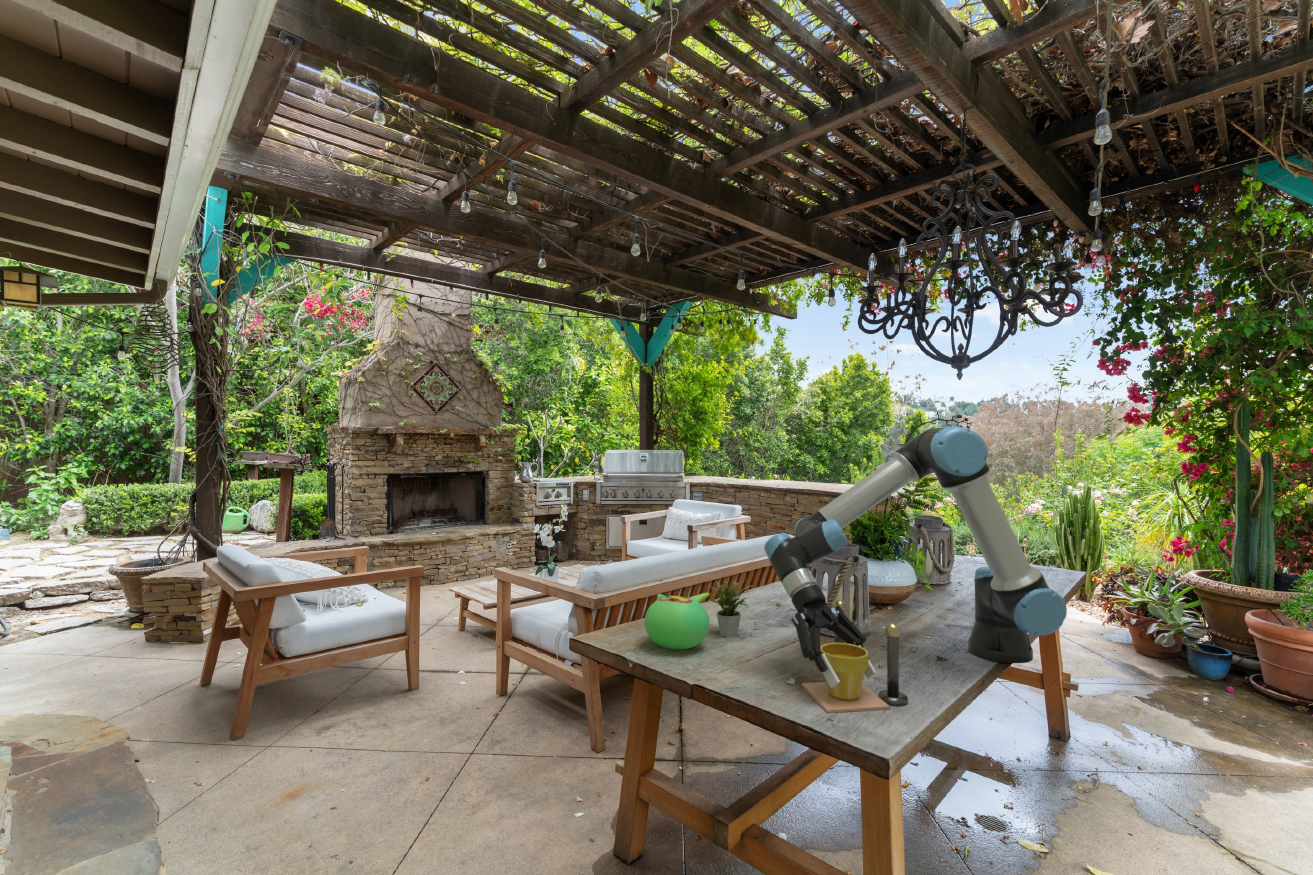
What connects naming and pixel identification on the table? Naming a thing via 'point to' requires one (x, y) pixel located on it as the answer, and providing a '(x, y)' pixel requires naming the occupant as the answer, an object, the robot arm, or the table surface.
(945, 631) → the table surface
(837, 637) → the iron post
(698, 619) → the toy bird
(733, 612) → the house plant
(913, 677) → the table surface
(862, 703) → the terracotta tile
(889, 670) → the iron post
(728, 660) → the table surface
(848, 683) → the plant pot
